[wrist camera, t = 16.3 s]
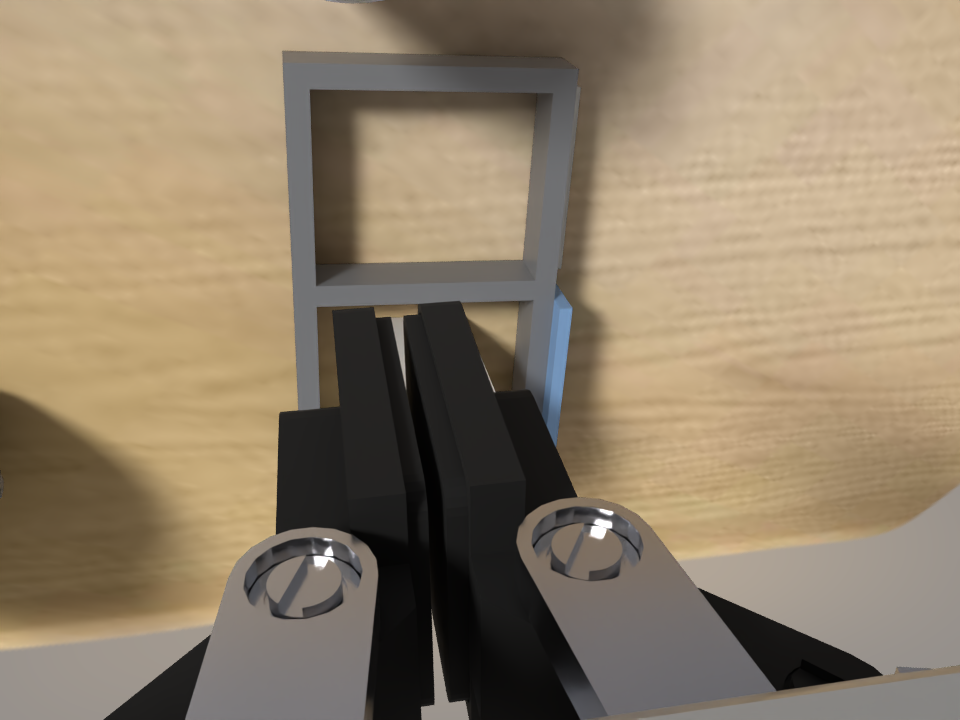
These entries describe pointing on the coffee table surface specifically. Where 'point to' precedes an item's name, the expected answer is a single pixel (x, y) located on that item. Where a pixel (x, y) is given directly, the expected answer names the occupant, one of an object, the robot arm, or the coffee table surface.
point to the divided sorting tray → (432, 282)
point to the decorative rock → (1, 485)
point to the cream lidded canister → (354, 1)
